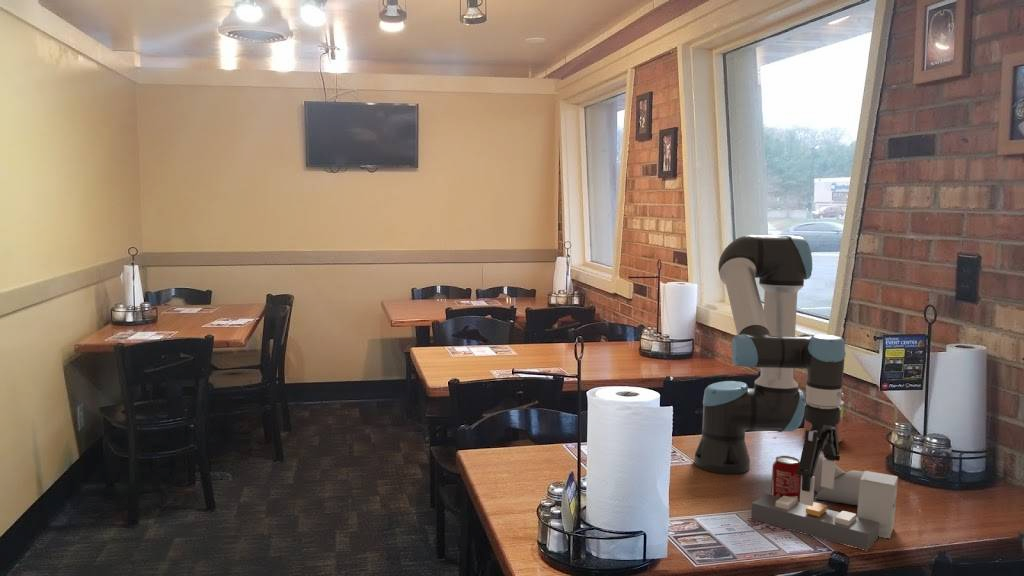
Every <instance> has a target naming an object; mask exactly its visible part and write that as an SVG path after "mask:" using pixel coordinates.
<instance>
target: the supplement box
mask: <svg viewBox="0 0 1024 576" xmlns="http://www.w3.org/2000/svg"><path fill="white" fill-rule="evenodd" d="M863 472H864V473H863V475H862V477H861V478H860V484H859V496H858V506H857V509H856V510H857V511H856V517H859V518H863V519H867V520H871V521H875V522H879V531H878V536H879V537H878V538H881V537H883V538H882V539H886V538H889V539H888V540H890V539H891V537H892V533H893V530H894V527H895V519H896V518H895V517H896V507H897V506H896V505H897V493H898V481H899V480H898V479H899V476H897V475H893V474H886V473H881V472H875V471H870V470H864V471H863Z"/></svg>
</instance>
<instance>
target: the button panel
mask: <svg viewBox="0 0 1024 576" xmlns="http://www.w3.org/2000/svg"><path fill="white" fill-rule="evenodd" d="M808 506H809V505H805V504H802V503H800V502H797V501H796V499H795V498H792V497H788V496H783V497H778V496H774V495H771V493H764V494H762V495H761V496H759V498H757V499H756V500H753V502H751V518H750V519H751V520H752V519H753V521H756V520H757V522H759V521H760V523H763V522H764V523H763V524H767V523H768V524H767V525H770V524H771V526H774V525H775V526H774V527H777V526H779V527H778V528H781V527H783V528H782V529H784V528H787V529H786V530H788V529H791V530H790V531H792V530H795V531H798V532H797V533H799V532H802V533H806V534H809V535H812V536H811V537H813V536H815V537H814V538H816V537H818V538H817V539H820V538H822V539H821V540H824V539H826V540H825V541H827V540H829V541H828V542H831V541H833V542H832V543H834V542H837V543H836V544H838V543H842V544H846V545H850V546H853V547H857V548H860V549H864V550H868V549H869V548H870V547H871V546H872V545H873V544H874V545H875V543H876V542H877V541H878V540H879V537H878V531H879V522H875V521H871V520H867V519H863V518H859V517H857V513H854V512H850V511H845V510H841V511H840V512H839V511H835V510H831V509H828V508H827V510H826V511H825V512H824V513H823V514H822V515H820V516H819V517H818V516H814V515H810V514H807V513H806V508H807V507H808ZM795 531H794V532H795ZM802 533H801V534H802ZM806 534H805V535H806ZM809 535H808V536H809ZM877 539H878V540H877ZM876 540H877V541H876ZM875 541H876V542H875ZM874 542H875V543H874ZM874 545H873V546H874ZM873 546H872V547H873ZM872 547H871V548H872ZM871 548H870V549H871ZM870 549H869V550H870ZM869 550H868V551H869Z"/></svg>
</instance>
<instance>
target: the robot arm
mask: <svg viewBox="0 0 1024 576" xmlns="http://www.w3.org/2000/svg"><path fill="white" fill-rule="evenodd" d="M718 260H719V261H718V269H717V270H718V274H719V278H720V281H721V282H722V283H723V284H724V285H725V287H726V292H727V297H728V300H729V303H730V304H729V305H730V309H731V313H732V318H733V322H734V325H735V331H736V335H734V336H733V337H732V340H731V345H730V353H731V361H732V363H733V364H734V365H735V366H738V367H748V368H753V369H754V368H760V376H759V377H757V379H755V380H754V382H753V383H754V385H753V388H750V387H749V386H748V384H747V383H745V382H743V381H735V380H724V381H718V382H714V383H711V384H709V385H707V387H705V389H704V393H703V399H702V405H703V407H702V427H701V438H700V440H699V443H698V445H697V448H696V450H695V453H694V461H693V462H694V464H695V465H696V467H698V468H700V469H701V470H705V471H708V472H712V473H717V474H725V475H726V474H727V475H731V474H741V473H742V474H743V473H746V472H747V471H749V470H750V468H751V458H750V455H749V451H748V447H747V445H746V440H745V439H746V431H759V432H761V431H762V432H778V433H783V432H795V431H796V430H798V429H799V427H801V425H802V422H803V419H804V421H805V420H806V421H808V422H810V423H811V424H812V428H811V429H810V431H808V430H806V432H805V437H804V442H803V446H802V451H801V455H800V459H799V460H800V464H799V468H798V471H797V475H801V488H800V503H802V504H805V505H809V506H813V502H814V497H815V495H814V494H815V490H814V482H815V477H814V476H813V474H814V471H815V468H816V465H817V461H818V458H819V455H821V452H822V453H823V457H824V458H826V459H823V461H822V476H821V486H822V487H826V488H830V489H833V488H834V475H835V465H836V462H839V461H840V459H841V456H840V447H839V445H840V444H839V442H838V436H837V424H839V422H840V414H841V408H840V407H839V405H841V400H842V398H844V396H845V394H844V393H843V392H842V391H843V382H844V381H843V380H844V371H845V369H844V368H845V358H846V342H845V340H844V338H843V337H841V336H836V335H832V334H812V333H805V334H804V333H802V334H800V335H798V336H796V330H797V329H796V328H797V327H796V325H797V308H798V303H797V302H798V292H799V291H800V290H801V289H802V288H803V287H805V285H804V284H805V280H806V281H807V280H809V279H810V278H811V277H812V272H813V257H812V251H811V247H810V244H809V242H808V241H807V239H805V238H804V237H802V236H797V235H796V236H795V235H789V234H787V235H768V234H767V235H764V234H763V235H761V234H760V235H759V234H758V235H756V234H748V235H743V236H739V237H738V238H736V239H735V240H733V241H732V242H729V244H728V245H727V246H726V247H725V248H724V250H723V251H722V253H721V255H720V257H719V259H718ZM756 279H758V280H759V282H758V284H759V286H760V287H761V288H762V290H764V293H763V294H764V297H763V303H762V300H761V295H760V293H759V290H758V288H759V287H758V284H757V282H756ZM794 369H800V370H801V369H804V370H806V372H807V373H806V384H805V393H804V392H803V390H802V389H800V388H799V383H798V382H797V381H796V380H795V379H794ZM806 402H807V403H806ZM805 470H807V471H805Z"/></svg>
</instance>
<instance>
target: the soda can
mask: <svg viewBox="0 0 1024 576" xmlns="http://www.w3.org/2000/svg"><path fill="white" fill-rule="evenodd" d="M799 462H800V459H799V458H797V457H795V456H791V455H778V456H776V457H775V461H774V462H772V470H771V487H770V488H771V489H770V490H771V491H770V495H774V496H778V497H783V496H788V497H792V498H795V499H796V501H797V502H800V488H801V475H797V471H798V468H799Z"/></svg>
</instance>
